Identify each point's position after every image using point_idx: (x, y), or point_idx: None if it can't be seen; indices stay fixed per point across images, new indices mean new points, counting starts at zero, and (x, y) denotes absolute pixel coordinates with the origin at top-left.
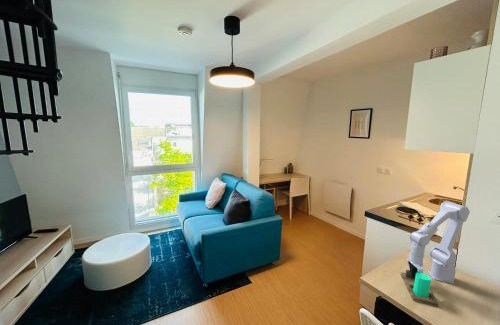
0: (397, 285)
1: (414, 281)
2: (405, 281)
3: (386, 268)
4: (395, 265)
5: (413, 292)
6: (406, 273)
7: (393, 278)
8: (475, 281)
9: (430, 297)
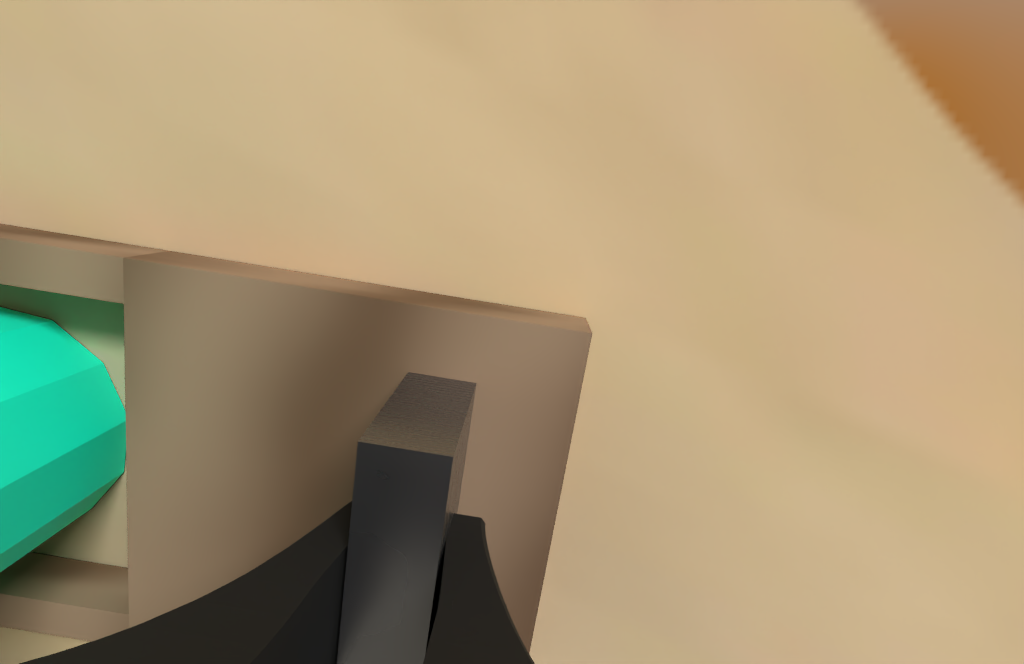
0: (127, 55)
1: (285, 484)
2: (210, 274)
3: (783, 49)
4: (943, 359)
5: (8, 311)
6: (383, 408)
7: (376, 67)
8: None
9: None
